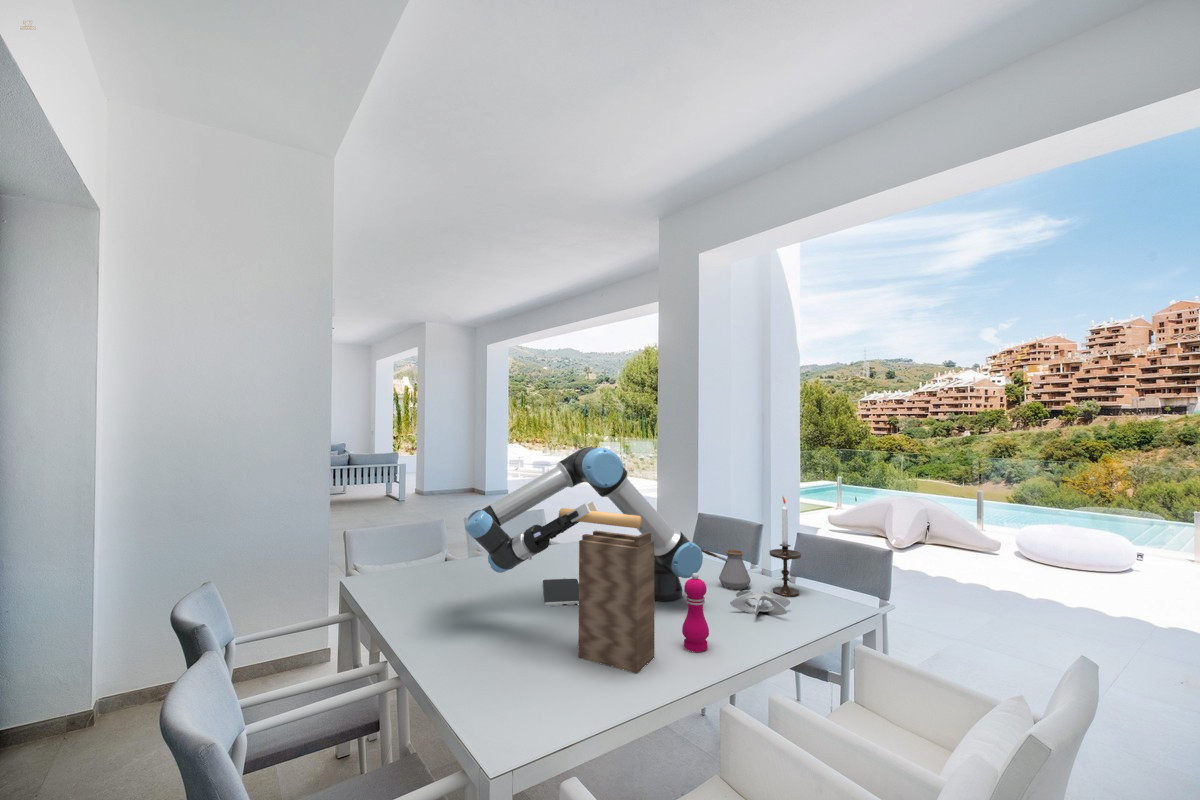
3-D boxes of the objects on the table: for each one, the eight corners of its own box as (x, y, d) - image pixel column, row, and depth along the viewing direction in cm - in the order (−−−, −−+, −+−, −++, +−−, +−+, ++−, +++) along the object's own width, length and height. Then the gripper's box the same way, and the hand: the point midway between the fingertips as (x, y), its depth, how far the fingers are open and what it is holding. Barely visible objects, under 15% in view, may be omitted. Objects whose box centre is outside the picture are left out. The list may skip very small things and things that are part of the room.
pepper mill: (703, 655, 139) (703, 578, 140) (677, 649, 142) (677, 574, 143) (713, 645, 145) (712, 571, 146) (688, 640, 149) (688, 568, 149)
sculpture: (726, 618, 166) (726, 597, 166) (739, 599, 184) (738, 581, 184) (785, 627, 158) (784, 606, 158) (792, 607, 176) (792, 587, 176)
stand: (578, 657, 137) (579, 531, 139) (598, 643, 146) (598, 525, 147) (636, 673, 128) (637, 538, 130) (654, 658, 137) (654, 531, 138)
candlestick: (763, 590, 193) (762, 494, 195) (786, 587, 198) (785, 492, 199) (784, 599, 184) (783, 498, 185) (808, 595, 188) (807, 496, 189)
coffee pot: (743, 581, 205) (742, 542, 205) (756, 590, 193) (755, 549, 194) (689, 583, 201) (689, 543, 202) (699, 593, 190) (699, 551, 191)
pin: (558, 520, 146) (558, 508, 146) (565, 518, 149) (565, 507, 149) (636, 529, 134) (636, 516, 134) (641, 527, 137) (641, 514, 137)
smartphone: (544, 608, 176) (544, 603, 176) (542, 583, 202) (542, 578, 202) (584, 606, 177) (584, 601, 177) (577, 582, 204) (577, 577, 204)
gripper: (553, 548, 158) (612, 515, 149) (518, 560, 145) (581, 524, 135) (543, 525, 161) (601, 490, 151) (508, 534, 147) (569, 497, 137)
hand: (591, 506), depth 143 cm, fingers closed on pin, 3 cm apart
